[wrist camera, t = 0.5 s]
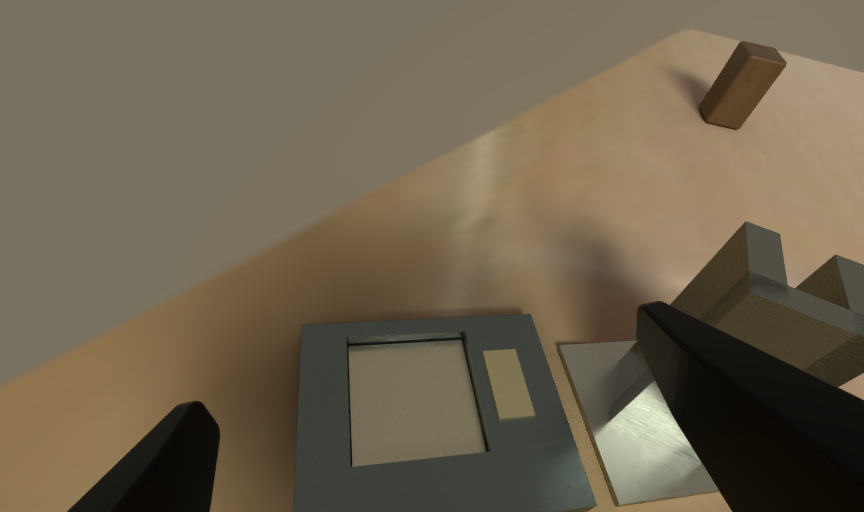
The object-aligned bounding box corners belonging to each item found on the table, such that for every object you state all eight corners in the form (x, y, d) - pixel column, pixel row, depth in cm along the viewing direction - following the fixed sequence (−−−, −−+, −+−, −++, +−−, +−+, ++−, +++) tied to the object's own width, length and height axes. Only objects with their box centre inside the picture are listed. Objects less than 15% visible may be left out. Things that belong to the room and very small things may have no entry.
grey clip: (699, 465, 24) (900, 351, 16) (608, 422, 25) (750, 292, 16) (701, 396, 27) (871, 268, 18) (619, 360, 28) (745, 221, 19)
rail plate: (588, 510, 22) (598, 504, 22) (293, 554, 20) (291, 548, 19) (525, 322, 30) (531, 312, 29) (302, 334, 27) (301, 322, 26)
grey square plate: (764, 484, 25) (769, 482, 24) (615, 506, 23) (619, 504, 22) (681, 340, 30) (684, 337, 30) (557, 348, 29) (559, 345, 28)
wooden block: (704, 123, 52) (750, 54, 46) (697, 106, 55) (740, 39, 49) (739, 131, 52) (789, 63, 46) (730, 114, 55) (776, 47, 49)
